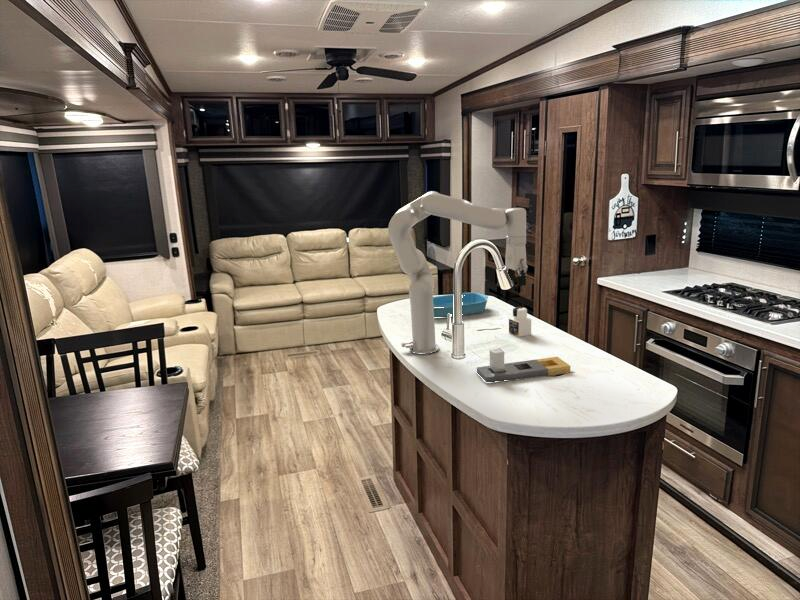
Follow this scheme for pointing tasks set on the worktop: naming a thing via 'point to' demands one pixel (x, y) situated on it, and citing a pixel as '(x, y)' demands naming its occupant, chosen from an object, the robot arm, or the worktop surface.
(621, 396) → the worktop surface
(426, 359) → the worktop surface
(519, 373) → the rail
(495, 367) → the steel peg
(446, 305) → the casserole dish
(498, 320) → the worktop surface
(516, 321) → the medicine bottle
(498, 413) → the worktop surface
